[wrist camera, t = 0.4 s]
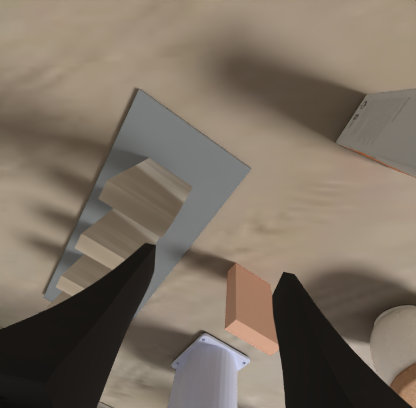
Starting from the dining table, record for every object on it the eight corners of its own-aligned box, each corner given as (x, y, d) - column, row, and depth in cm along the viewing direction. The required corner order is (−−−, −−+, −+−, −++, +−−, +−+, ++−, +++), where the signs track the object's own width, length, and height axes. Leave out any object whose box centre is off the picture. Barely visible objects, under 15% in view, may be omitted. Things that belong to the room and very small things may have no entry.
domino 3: (161, 233, 24) (131, 281, 17) (121, 208, 23) (74, 247, 16) (168, 222, 23) (140, 268, 17) (127, 197, 23) (81, 233, 16)
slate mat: (120, 334, 32) (118, 338, 32) (46, 294, 31) (43, 297, 30) (250, 167, 21) (251, 169, 20) (141, 89, 19) (139, 89, 19)
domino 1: (141, 261, 26) (107, 315, 19) (104, 239, 25) (55, 287, 18) (147, 253, 25) (114, 305, 18) (109, 230, 25) (61, 275, 18)
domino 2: (184, 199, 22) (161, 238, 15) (142, 171, 21) (98, 198, 15) (192, 187, 21) (172, 222, 15) (149, 157, 21) (107, 180, 14)
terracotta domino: (261, 292, 26) (270, 355, 19) (227, 271, 26) (224, 329, 19) (269, 284, 26) (282, 347, 19) (235, 262, 25) (236, 319, 18)
